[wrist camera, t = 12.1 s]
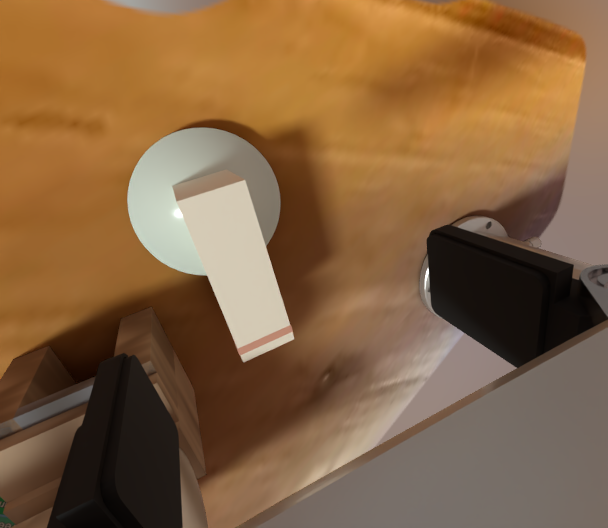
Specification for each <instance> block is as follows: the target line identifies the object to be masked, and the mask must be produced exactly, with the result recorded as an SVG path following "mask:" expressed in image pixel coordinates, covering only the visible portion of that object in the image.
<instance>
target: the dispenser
mask: <svg viewBox="0 0 608 528" xmlns="http://www.w3.org/2000/svg"><path fill="white" fill-rule="evenodd" d="M122 353H125V354H127V355H128V357H129V356H132V355H135V356H136V357H137V358H138V360H139V361H140V363H141V365H142V367H143V368H144V370H145V372H146V374H147V375H148V377H149V379H150V381H151V382H152V384H153V386H154V387H155V389H156V391H157V393H158V394H159V396H160V398H161V400H162V401H163V403H164V405H165V407H166V408H167V410H168V412H169V413H170V415H171V417H172V419H173V420H174V422H175V424H176V427H177V430H178V435H179V455H180V478H181V500H182V522H183V528H208V524H207V518H206V512H205V507H204V503H203V499H202V495H201V492H200V488H199V485H198V482H197V479H199V478H201V477H203V476H205V475H206V468H205V461H204V454H203V447H202V440H201V434H200V427H199V420H198V413H197V406H196V400H195V393H194V389H193V387H192V385H191V383H190V381H189V379H188V377H187V375H186V373H185V371H184V369H183V367H182V365H181V363H180V361H179V359H178V357H177V355H176V353H175V351H174V349H173V348H172V346H171V344H170V342H169V340H168V338H167V336H166V334H165V332H164V330H163V328H162V326H161V324H160V322H159V320H158V318H157V316H156V314H155V312H154V310H153V308H152V307H150V308H147V309H145V310H142V311H139V312H137V313H134V314H132V315H129V316H126V317H124V318H121V321H120V326H119V331H118V337H117V342H116V347H115V353H114V356H117V355H119V354H122ZM95 377H96V376H95ZM95 377H92V378H90V379H88V380H85V381H83V382H80V383H78V384H76V383H75V381H74V380H73V378H72V377H71V376H70V374H69V373H68V371H67V370H66V369H65V367H64V366H63V365H62V363H61V362H60V360H59V359H58V358H57V356H56V355H55V353H54V352H53V351H52V349H51V348H50V347H49V346H47V347H45V348H42V349H39V350H37V351H34V352H31V353H29V354H26V355H24V356H21V357H18V358H16V359H13V361H12V362H11V364H10V365H9V367H8V369H7V370H6V372H5V373H4V375H3V377H2V378H1V380H0V497H1V498H2V499H3V500H4V501H5V502H6V506H5V508H4V511H3V514H4V515H5V516H7V517H8V518H9V519H10V520H11V521H12V522H13V523H15V524H16V525H15V526H13V527H11V528H47V525H48V522H49V518H50V515H51V512H52V508H53V505H54V502H55V498H56V495H57V492H58V488H59V485H60V482H61V478H62V475H63V472H64V468H65V465H66V462H67V458H68V455H69V452H70V448H71V445H72V442H73V438H74V435H75V433H76V430H77V428H79V427H80V426H81V425H82V423H83V419H84V416H85V412H86V409H87V405H88V402H89V398H90V395H91V391H92V388H93V384H94V381H95Z"/></svg>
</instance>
